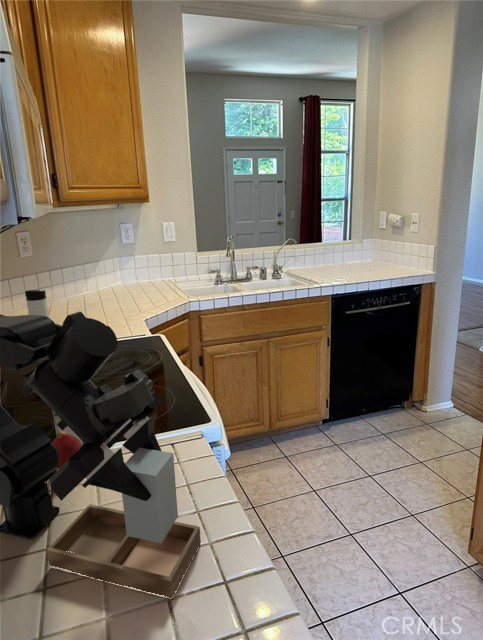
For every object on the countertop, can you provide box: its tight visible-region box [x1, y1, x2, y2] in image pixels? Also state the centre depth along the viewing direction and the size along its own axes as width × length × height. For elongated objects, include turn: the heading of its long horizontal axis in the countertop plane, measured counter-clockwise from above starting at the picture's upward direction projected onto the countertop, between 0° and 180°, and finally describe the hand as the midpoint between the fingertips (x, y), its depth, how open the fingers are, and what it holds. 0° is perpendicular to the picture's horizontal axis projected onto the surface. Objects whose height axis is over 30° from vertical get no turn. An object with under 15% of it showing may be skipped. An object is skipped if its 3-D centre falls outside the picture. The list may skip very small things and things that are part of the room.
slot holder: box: [46, 503, 202, 598], centre depth 60 cm, size 18×9×3 cm, turn 73°
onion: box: [52, 432, 82, 469], centre depth 80 cm, size 6×6×8 cm
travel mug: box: [24, 289, 50, 318], centre depth 149 cm, size 6×7×20 cm
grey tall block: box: [121, 448, 179, 544], centre depth 57 cm, size 5×5×10 cm
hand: (158, 485), depth 56 cm, fingers closed on grey tall block, 5 cm apart
